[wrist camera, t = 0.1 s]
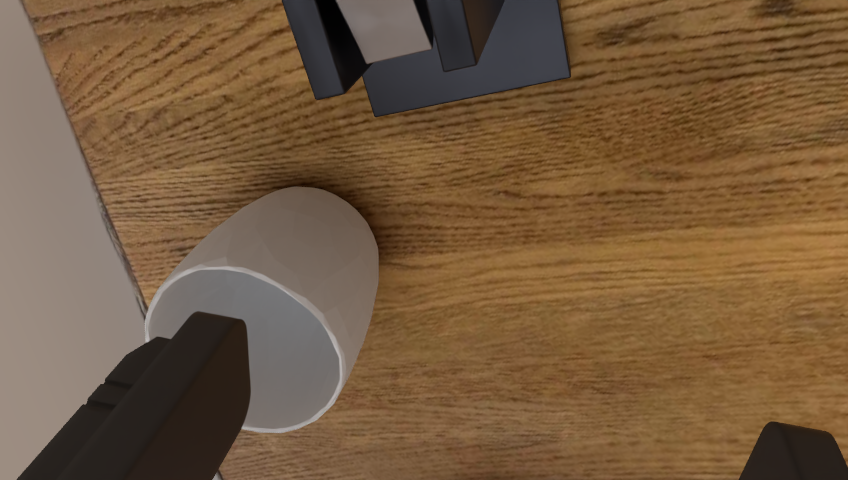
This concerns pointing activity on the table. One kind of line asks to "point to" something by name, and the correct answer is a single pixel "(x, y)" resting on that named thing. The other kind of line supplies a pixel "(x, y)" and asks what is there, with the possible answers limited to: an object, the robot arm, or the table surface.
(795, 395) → the table surface
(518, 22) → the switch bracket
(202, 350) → the robot arm
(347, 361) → the mug
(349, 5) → the switch
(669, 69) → the table surface
